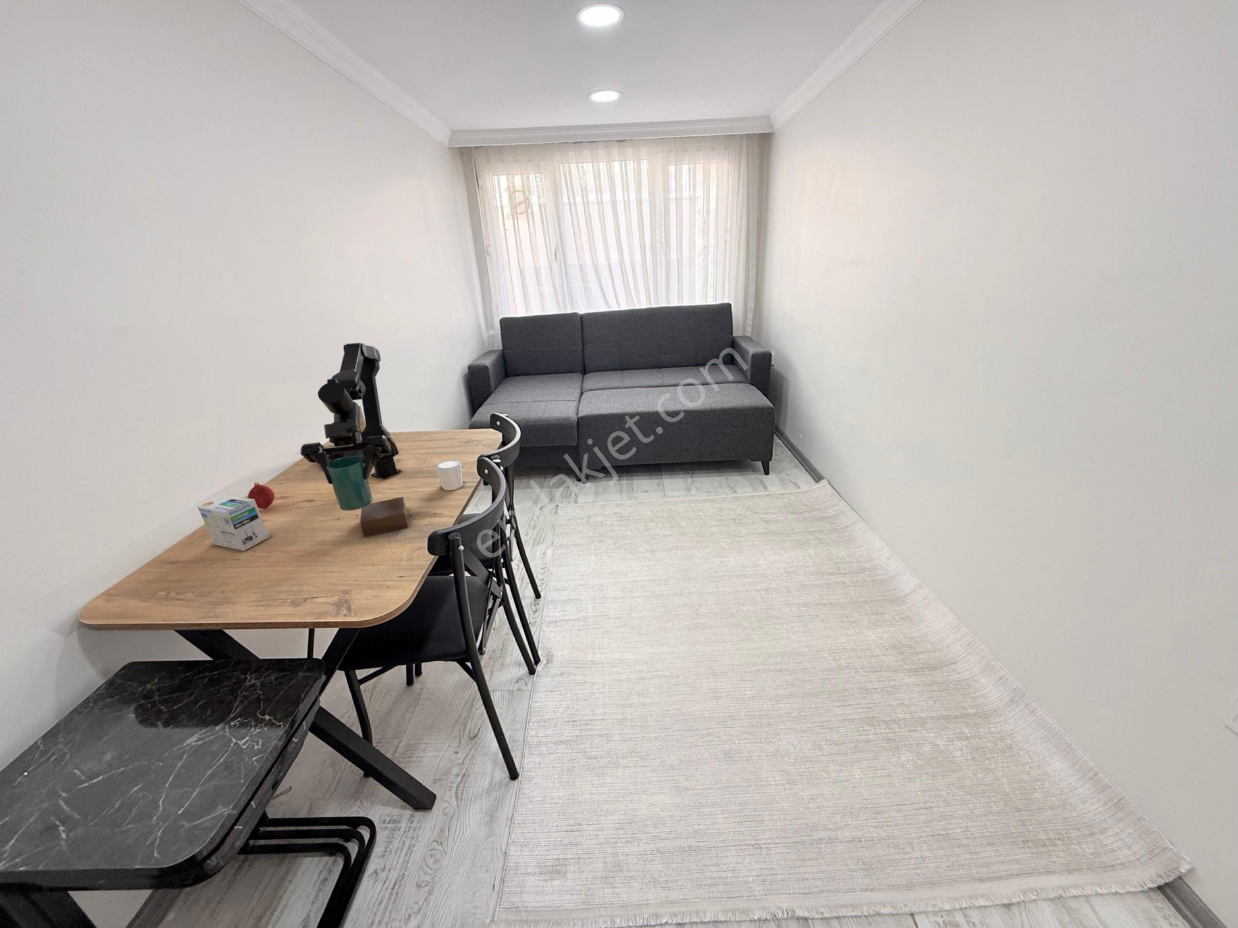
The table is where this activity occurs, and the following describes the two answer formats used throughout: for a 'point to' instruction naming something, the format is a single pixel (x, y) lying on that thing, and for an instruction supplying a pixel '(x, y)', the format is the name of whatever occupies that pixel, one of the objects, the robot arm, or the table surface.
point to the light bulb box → (233, 522)
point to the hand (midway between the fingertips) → (347, 481)
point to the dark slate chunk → (346, 455)
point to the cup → (349, 483)
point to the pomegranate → (261, 495)
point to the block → (384, 516)
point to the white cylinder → (450, 474)
